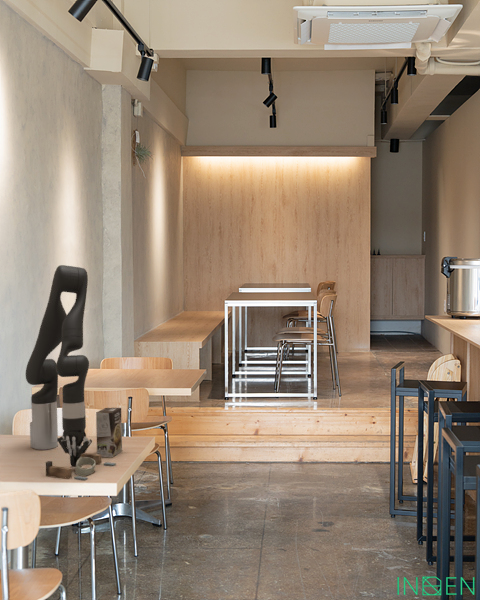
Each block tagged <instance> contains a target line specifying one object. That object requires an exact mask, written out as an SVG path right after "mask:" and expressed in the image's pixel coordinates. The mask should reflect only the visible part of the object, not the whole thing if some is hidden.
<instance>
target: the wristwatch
mask: <svg viewBox="0 0 480 600" xmlns="http://www.w3.org/2000/svg"><path fill="white" fill-rule="evenodd" d="M85 465H88V466H90V467H88V468H82V466H85ZM96 465H97V464H95V460H94V459H92V458H88V457H84V458H82V457H80V458H79V459H78V460H77V462H76V467H74V468H75V469H74V473H75V475H76V476H81V477H87V476H89V475H92V474H93V473H94V472H95V468H96Z"/></svg>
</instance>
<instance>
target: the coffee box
mask: <svg viewBox="0 0 480 600" xmlns="http://www.w3.org/2000/svg"><path fill="white" fill-rule="evenodd" d="M95 416H96V417H95V418H96V419H95V421H96V422H95V426H96V427H95V428H96V454H100V455H101V458H114V457H115V456H117V455H118V454H119V453H121V452H122V451H123V431H122V430H123V429H122V428H123V427H122V426H123V425H122V407H105V408H102V409H100V410H98V411H97V412H96V414H95Z"/></svg>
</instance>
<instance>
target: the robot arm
mask: <svg viewBox="0 0 480 600" xmlns="http://www.w3.org/2000/svg"><path fill="white" fill-rule="evenodd" d="M55 269H56V270H55V271H54V275H53V278H52V281H51V282H52V283H51V289H50V292H49V297H48V300H47V301H48V302H47V305H46V307H45V312H44V313H43V317H42V320H41V324H40V327H39V330H38V335H37V338H36V341H35V345H34V347H33V350H32V353H31V355H30V356H29V359H28V361H27V365H26V367H25V380H26V382H27V383H28V384H29V385H31V386H37V385H43V386H42V388H40V389H39V390H38V391H36V392H35V393H33V394H31V397H30V398H31V401H30V403H31V421H30V422H29V437H30V438H29V439H30V448H32V449H34V450H50V449H55V448H56V447H58V446H59V445H60V447H61V448H62V450H63V452H64V453H65V454H68V455H69V462H70V463H69V464H70V466H71V468H72V467H74V468H75V467H76V462H77V460H78V459H79V458H80V455H81V454H83V453H86V451H87V450H88V448H89V447H90V445H91V444H92V443H93V440H92V439H89V438H88V437H87V434H86V427H87V423H86V419H87V417H86V403H85V383H86V381H87V380H86V379H87V375H88V371H89V369H90V361H89V358H88V357H87V356H86V355H84V354H77V355H76V354H74V355H69V354H70V353H71V352H74V351H79V350H80V349H82V348H83V346H84V317H85V308H86V301H87V291H88V281H89V277H88V272H87V270H86V269H85V268H84V267H79V266H74V265H73V266H72V265H63V264H61V265H58V266H57V267H56V268H55ZM63 293H70V294H75V301H74V304H73V305H72V307H71V308H70V310H69V312H68V313H66V310H65V308H64V306H63V303H62V298H61V296H62V294H63ZM60 344H61V346H60ZM59 346H60V351H59V355H58V358H57V361H56V360H55V359H52V358H48V357H49V355H50V354H51V353H52V352H53V351H54V350H55V349H56V348H57V347H59ZM59 377H61V378H71V377H72V378H73V377H78V378H77V379H76V380H75V381H72V382H70V383H69V382H68V383H66V384H64V385H63V386H62V389H61V390H62V392H61V394H62V407H61V416H62V417H61V418H62V419H61V420H62V423H61V424H62V430H63V432H62V435H61V436H59V432H58V404H57V403H58V400H57V399H58V398H57V397H58V393H59V391H58V390H59V389H58V388H59V387H58V386H59V385H58V383H59Z"/></svg>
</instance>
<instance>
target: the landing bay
mask: <svg viewBox="0 0 480 600" xmlns="http://www.w3.org/2000/svg"><path fill="white" fill-rule="evenodd" d="M103 466H105V467H106V466H109V467H115V466H117V463H115V462H108V461H107V462H103ZM88 479H89V478H88V477H87V476H80V475H76V476H75V477H74V480H77V481H84V482H85V481H86V480H88Z"/></svg>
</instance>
